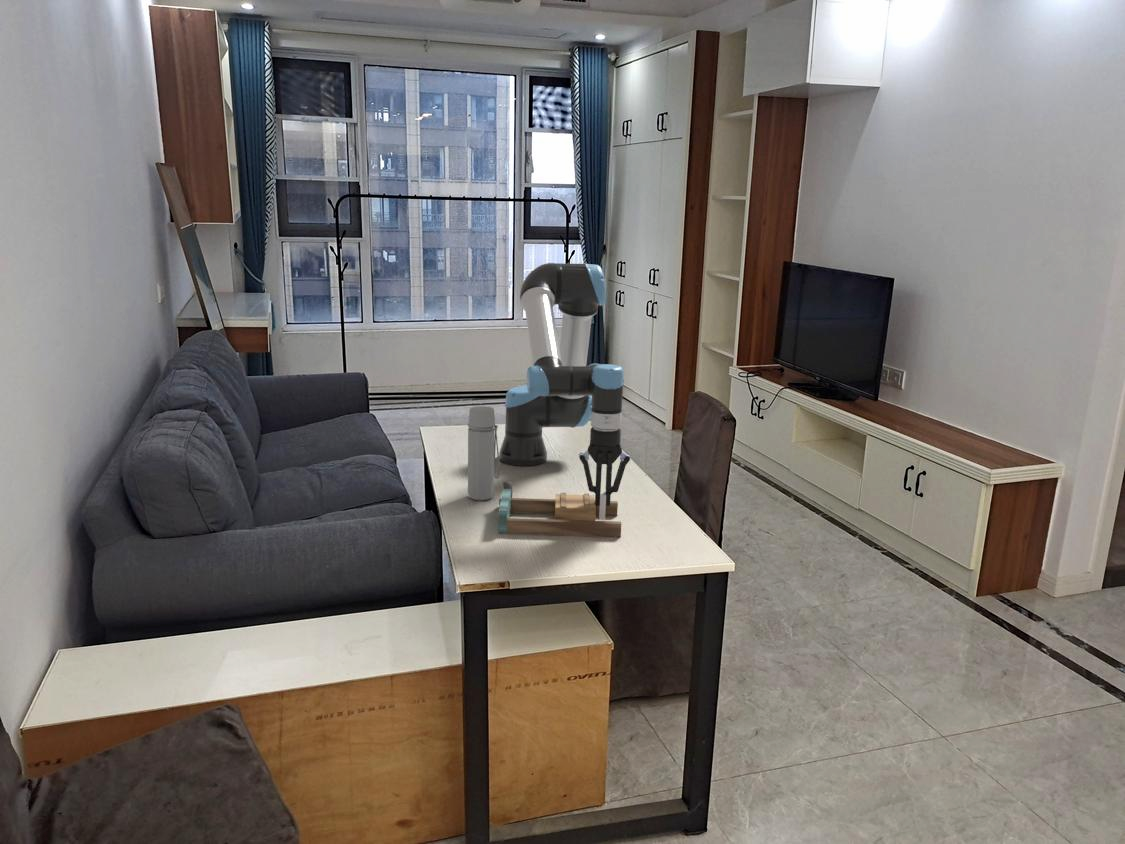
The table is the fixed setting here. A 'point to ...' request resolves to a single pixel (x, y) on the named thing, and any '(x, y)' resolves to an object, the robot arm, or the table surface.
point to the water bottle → (481, 453)
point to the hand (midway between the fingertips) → (601, 517)
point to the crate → (575, 507)
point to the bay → (550, 525)
